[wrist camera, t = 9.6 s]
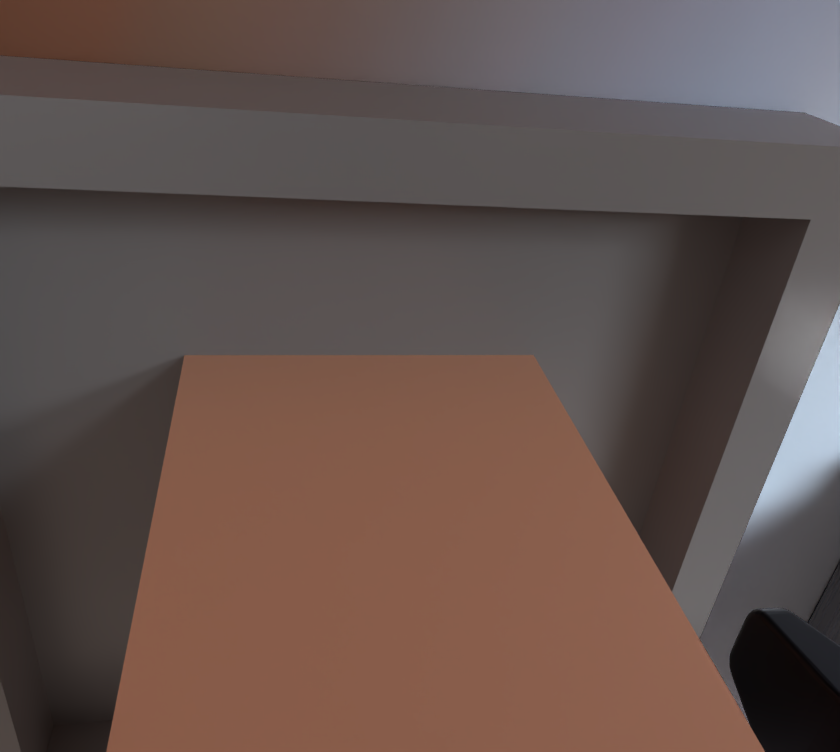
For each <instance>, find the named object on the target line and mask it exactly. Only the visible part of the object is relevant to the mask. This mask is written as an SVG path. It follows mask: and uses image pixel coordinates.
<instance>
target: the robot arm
mask: <svg viewBox="0 0 840 752" xmlns="http://www.w3.org/2000/svg"><path fill="white" fill-rule="evenodd" d="M730 670H731V674H732V677H733V680H734V683H735V685H736V688H737V691H738V694H739V696H740V699H741V702H742V705H743V707H744V710H745V713H746V715H747V718H748V721H749V724H750V726H751V728H752V730H753V732H754V734H755V735H756V737H757V739H758V740H759V742H760V744H761V746H762V747H763V749H764V751H765V752H840V646H839V645H838V644H836V643H835V642H834V641H832V640H831V639H829V638H828V637H827V636H825V635H824V634H822V633H821V632H819V631H818V630H817V629H815V628H814V627H812V626H811V625H809V624H808V623H807V622H805V621H804V620H802V619H801V618H799V617H798V616H797V615H795V614H794V613H792V612H790V611H789V610H786V609H783V608H768V609H756V610H753V611H752V612H750V613H749V614H748V616H747V617H746V619H745V621H744V624H743V626H742V628H741V630H740V632H739V635H738V637H737V639H736V641H735V643H734V646H733V648H732V650H731V653H730Z"/></svg>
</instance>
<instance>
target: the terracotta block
mask: <svg viewBox="0 0 840 752" xmlns="http://www.w3.org/2000/svg"><path fill="white" fill-rule="evenodd" d="M106 752H765V751H764V749H763V747H762V746H761V744H760V742H759V740H758V739H757V737H756V735H755V734H754V732H753V730H752V728H751V727H750V725H749V723H748V722H747V720H746V718H745V717H744V715H743V713H742V711H741V710H740V708H739V706H738V705H737V703H736V701H735V699H734V698H733V696H732V694H731V693H730V691H729V689H728V687H727V686H726V684H725V682H724V681H723V679H722V677H721V675H720V674H719V672H718V670H717V669H716V667H715V665H714V663H713V662H712V660H711V658H710V657H709V655H708V653H707V651H706V650H705V648H704V646H703V645H702V643H701V641H700V639H699V638H698V636H697V634H696V633H695V631H694V629H693V627H692V626H691V624H690V622H689V621H688V619H687V617H686V615H685V614H684V612H683V610H682V609H681V607H680V605H679V603H678V602H677V600H676V598H675V597H674V595H673V593H672V591H671V590H670V588H669V586H668V585H667V583H666V581H665V579H664V578H663V576H662V574H661V573H660V571H659V569H658V567H657V566H656V564H655V562H654V561H653V559H652V557H651V555H650V554H649V552H648V550H647V549H646V547H645V545H644V543H643V542H642V540H641V538H640V537H639V535H638V533H637V531H636V530H635V528H634V526H633V525H632V523H631V521H630V519H629V518H628V516H627V514H626V513H625V511H624V509H623V507H622V506H621V504H620V502H619V501H618V499H617V497H616V495H615V494H614V492H613V490H612V489H611V487H610V485H609V483H608V482H607V480H606V478H605V477H604V475H603V473H602V471H601V470H600V468H599V466H598V465H597V463H596V461H595V460H594V458H593V456H592V454H591V453H590V451H589V449H588V448H587V446H586V444H585V442H584V441H583V439H582V437H581V436H580V434H579V432H578V430H577V429H576V427H575V425H574V424H573V422H572V420H571V418H570V417H569V415H568V413H567V412H566V410H565V408H564V406H563V405H562V403H561V401H560V400H559V398H558V396H557V394H556V393H555V391H554V389H553V388H552V386H551V384H550V382H549V381H548V379H547V377H546V376H545V374H544V372H543V370H542V369H541V367H540V365H539V364H538V362H537V360H536V358H535V357H534V355H184V360H183V365H182V370H181V375H180V380H179V385H178V390H177V395H176V401H175V406H174V411H173V416H172V421H171V426H170V431H169V436H168V441H167V446H166V451H165V456H164V461H163V467H162V472H161V477H160V482H159V487H158V492H157V497H156V502H155V507H154V512H153V517H152V522H151V527H150V533H149V538H148V543H147V548H146V553H145V558H144V563H143V568H142V573H141V578H140V583H139V588H138V593H137V599H136V604H135V609H134V614H133V619H132V624H131V629H130V634H129V639H128V644H127V649H126V654H125V660H124V665H123V670H122V675H121V680H120V685H119V690H118V695H117V700H116V705H115V710H114V715H113V720H112V726H111V731H110V736H109V741H108V746H107V751H106Z"/></svg>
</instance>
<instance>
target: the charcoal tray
mask: <svg viewBox="0 0 840 752" xmlns="http://www.w3.org/2000/svg"><path fill="white" fill-rule="evenodd" d="M839 304H840V126H838V125H835V124H833V123H830V122H827V121H825V120H822V119H820V118H817V117H814V116H812V115H809V114H807V113H801V112H787V111H773V110H759V109H745V108H731V107H717V106H703V105H689V104H674V103H660V102H646V101H632V100H618V99H604V98H590V97H576V96H562V95H548V94H534V93H519V92H505V91H491V90H477V89H463V88H449V87H435V86H421V85H407V84H393V83H379V82H364V81H350V80H336V79H322V78H308V77H294V76H280V75H266V74H252V73H238V72H224V71H209V70H195V69H181V68H167V67H153V66H139V65H125V64H111V63H97V62H83V61H69V60H55V59H40V58H26V57H12V56H0V752H106V751H107V746H108V741H109V736H110V731H111V726H112V720H113V715H114V710H115V705H116V700H117V695H118V690H119V685H120V680H121V675H122V670H123V665H124V660H125V654H126V649H127V644H128V639H129V634H130V629H131V624H132V619H133V614H134V609H135V604H136V599H137V593H138V588H139V583H140V578H141V573H142V568H143V563H144V558H145V553H146V548H147V543H148V538H149V533H150V527H151V522H152V517H153V512H154V507H155V502H156V497H157V492H158V487H159V482H160V477H161V472H162V467H163V461H164V456H165V451H166V446H167V441H168V436H169V431H170V426H171V421H172V416H173V411H174V406H175V401H176V395H177V390H178V385H179V380H180V375H181V370H182V365H183V360H184V355H534V357H535V358H536V360H537V362H538V364H539V365H540V367H541V369H542V370H543V372H544V374H545V376H546V377H547V379H548V381H549V382H550V384H551V386H552V388H553V389H554V391H555V393H556V394H557V396H558V398H559V400H560V401H561V403H562V405H563V406H564V408H565V410H566V412H567V413H568V415H569V417H570V418H571V420H572V422H573V424H574V425H575V427H576V429H577V430H578V432H579V434H580V436H581V437H582V439H583V441H584V442H585V444H586V446H587V448H588V449H589V451H590V453H591V454H592V456H593V458H594V460H595V461H596V463H597V465H598V466H599V468H600V470H601V471H602V473H603V475H604V477H605V478H606V480H607V482H608V483H609V485H610V487H611V489H612V490H613V492H614V494H615V495H616V497H617V499H618V501H619V502H620V504H621V506H622V507H623V509H624V511H625V513H626V514H627V516H628V518H629V519H630V521H631V523H632V525H633V526H634V528H635V530H636V531H637V533H638V535H639V537H640V538H641V540H642V542H643V543H644V545H645V547H646V549H647V550H648V552H649V554H650V555H651V557H652V559H653V561H654V562H655V564H656V566H657V567H658V569H659V571H660V573H661V574H662V576H663V578H664V579H665V581H666V583H667V585H668V586H669V588H670V590H671V591H672V593H673V595H674V597H675V598H676V600H677V602H678V603H679V605H680V607H681V609H682V610H683V612H684V614H685V615H686V617H687V619H688V621H689V622H690V624H691V626H692V627H693V629H694V631H695V633H696V634H697V636H698V638H699V639H700V637H701V634H702V632H703V630H704V627H705V625H706V622H707V620H708V618H709V615H710V613H711V610H712V608H713V606H714V603H715V601H716V598H717V596H718V594H719V591H720V589H721V586H722V584H723V582H724V579H725V577H726V574H727V572H728V570H729V567H730V565H731V562H732V560H733V558H734V555H735V553H736V551H737V548H738V546H739V543H740V541H741V539H742V536H743V534H744V531H745V529H746V527H747V524H748V522H749V519H750V517H751V515H752V512H753V510H754V507H755V505H756V503H757V500H758V498H759V495H760V493H761V491H762V488H763V486H764V483H765V481H766V479H767V476H768V474H769V472H770V469H771V467H772V464H773V462H774V460H775V457H776V455H777V452H778V450H779V448H780V445H781V443H782V440H783V438H784V436H785V433H786V431H787V428H788V426H789V424H790V421H791V419H792V416H793V414H794V412H795V409H796V407H797V404H798V402H799V400H800V397H801V395H802V393H803V390H804V388H805V385H806V383H807V381H808V378H809V376H810V373H811V371H812V369H813V366H814V364H815V361H816V359H817V357H818V354H819V352H820V349H821V347H822V345H823V342H824V340H825V337H826V335H827V333H828V330H829V328H830V325H831V323H832V321H833V318H834V316H835V314H836V311H837V309H838V306H839Z"/></svg>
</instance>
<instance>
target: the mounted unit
mask: <svg viewBox="0 0 840 752" xmlns="http://www.w3.org/2000/svg"><path fill="white" fill-rule="evenodd" d="M808 624H809V625H811V626H812V627H814V628H815V629H817V630H818V631H819V632H821V633H822V634H824V635H825V636H827V637H828V638H829V639H831V640H832V641H834V642H835V643H836V644H838V645H839V646H840V563H839V565H838V567H837V569H836V571H835V573H834V575H833V576H832V578H831V580H830V582H829V584H828V586H827V588H826V590H825V592H824V594H823V596H822V598H821V600H820V602H819V604H818V605H817V607H816V609H815V611H814V613H813V615H812V617H811V619H810V621H809V623H808Z"/></svg>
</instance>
